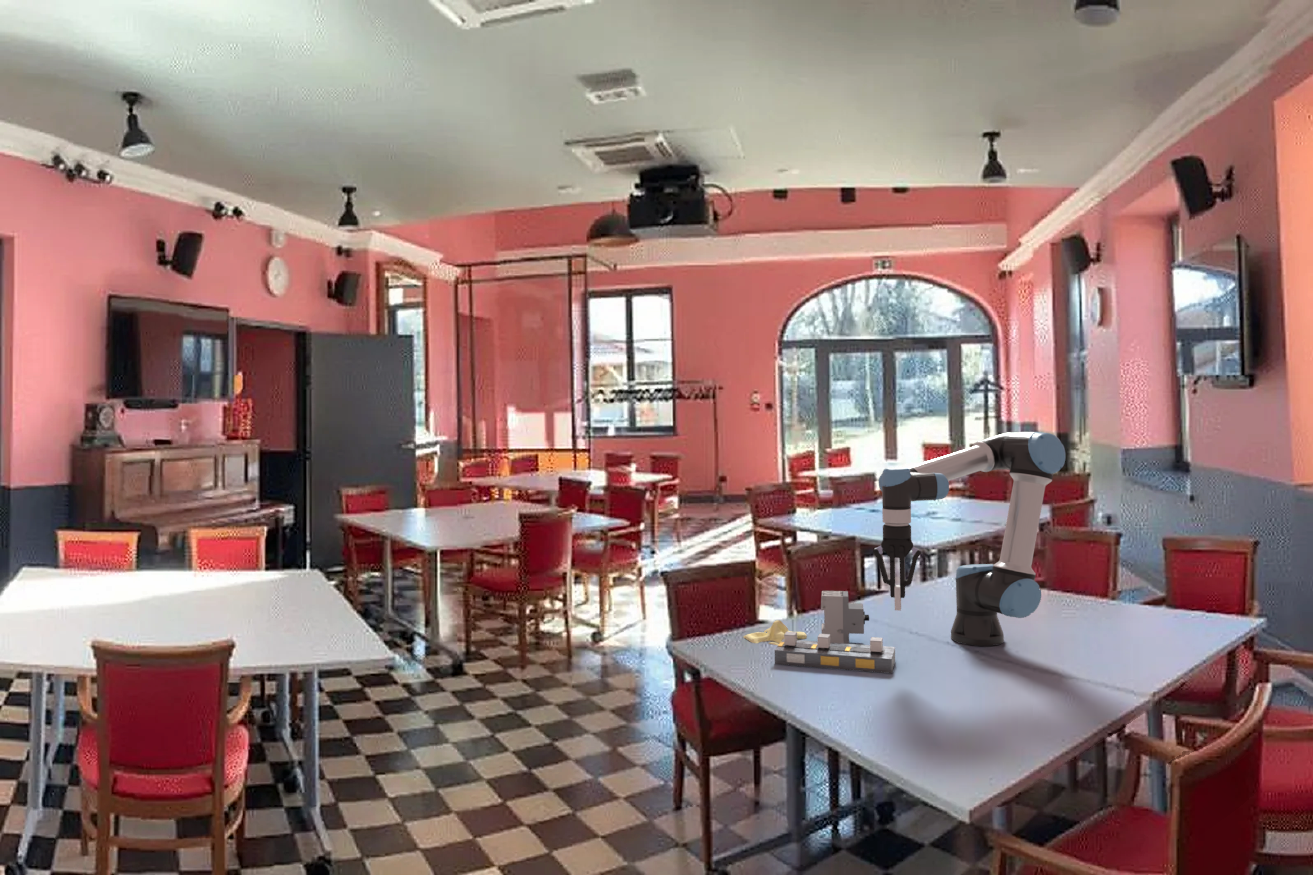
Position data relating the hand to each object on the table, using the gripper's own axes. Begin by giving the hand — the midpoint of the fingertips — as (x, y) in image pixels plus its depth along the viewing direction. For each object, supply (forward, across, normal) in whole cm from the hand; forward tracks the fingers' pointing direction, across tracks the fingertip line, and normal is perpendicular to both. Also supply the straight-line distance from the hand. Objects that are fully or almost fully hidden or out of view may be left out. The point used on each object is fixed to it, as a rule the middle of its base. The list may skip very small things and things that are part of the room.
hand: (897, 609), depth 232 cm
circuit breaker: (+16, +17, -22) cm, 33 cm away
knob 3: (+12, +6, 0) cm, 13 cm away
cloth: (+17, +37, -21) cm, 46 cm away
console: (+16, +17, 0) cm, 24 cm away
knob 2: (+12, +20, 0) cm, 24 cm away
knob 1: (+12, +30, 0) cm, 32 cm away
